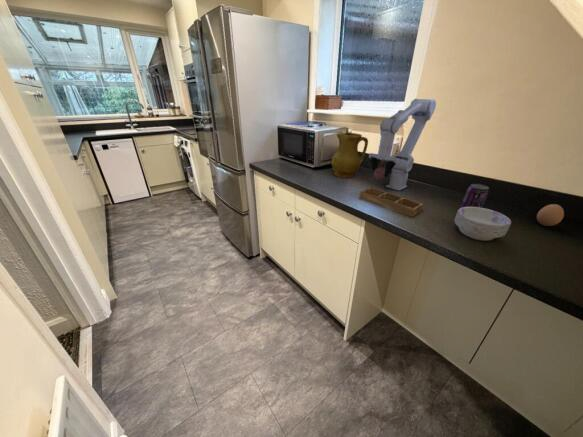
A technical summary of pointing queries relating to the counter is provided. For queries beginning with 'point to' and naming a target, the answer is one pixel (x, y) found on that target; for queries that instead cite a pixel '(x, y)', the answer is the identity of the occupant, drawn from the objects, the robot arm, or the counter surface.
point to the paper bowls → (481, 223)
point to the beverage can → (475, 196)
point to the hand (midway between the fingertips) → (380, 175)
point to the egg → (550, 215)
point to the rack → (391, 201)
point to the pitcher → (348, 154)
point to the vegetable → (380, 172)
